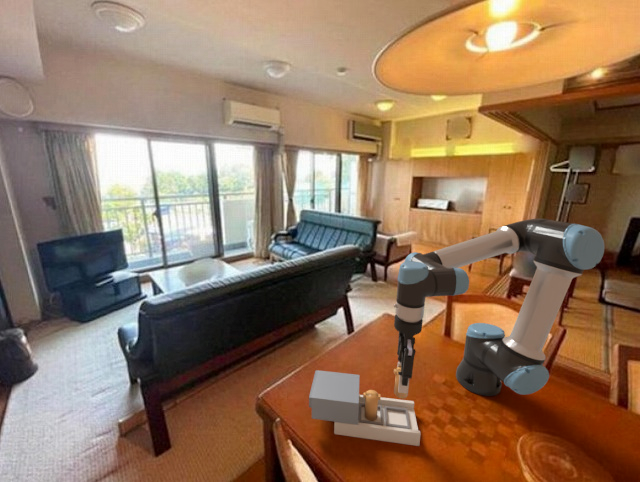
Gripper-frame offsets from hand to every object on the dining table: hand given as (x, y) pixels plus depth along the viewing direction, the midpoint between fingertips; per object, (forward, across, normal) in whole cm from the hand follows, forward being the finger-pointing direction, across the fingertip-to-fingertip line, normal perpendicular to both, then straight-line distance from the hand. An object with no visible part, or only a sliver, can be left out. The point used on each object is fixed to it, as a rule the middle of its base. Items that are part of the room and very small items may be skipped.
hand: (401, 386), depth 85 cm
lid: (+11, -1, -20) cm, 23 cm away
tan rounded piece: (+13, -1, -8) cm, 15 cm away
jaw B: (+3, 0, 0) cm, 3 cm away
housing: (+15, -1, -7) cm, 17 cm away
